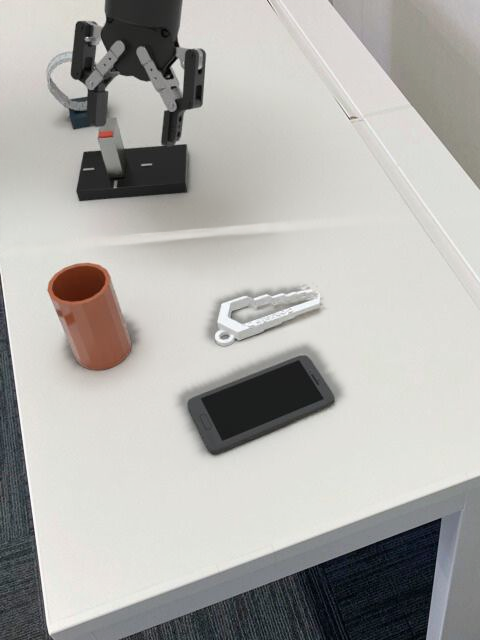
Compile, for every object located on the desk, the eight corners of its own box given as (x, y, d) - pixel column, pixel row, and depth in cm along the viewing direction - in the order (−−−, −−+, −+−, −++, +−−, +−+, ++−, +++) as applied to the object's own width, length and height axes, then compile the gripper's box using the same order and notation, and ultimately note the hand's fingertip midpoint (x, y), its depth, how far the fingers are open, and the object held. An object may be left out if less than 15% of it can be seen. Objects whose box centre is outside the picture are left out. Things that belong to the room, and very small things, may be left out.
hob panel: (82, 209, 101) (75, 190, 99) (89, 169, 107) (83, 150, 105) (189, 201, 103) (185, 181, 100) (190, 162, 109) (186, 142, 106)
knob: (111, 157, 104) (100, 116, 99) (126, 156, 104) (115, 115, 100) (108, 178, 101) (96, 137, 96) (124, 177, 101) (113, 135, 96)
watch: (119, 130, 114) (101, 60, 106) (63, 140, 112) (40, 69, 104) (115, 111, 118) (97, 41, 109) (61, 120, 116) (38, 50, 108)
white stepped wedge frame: (307, 283, 92) (307, 273, 90) (325, 310, 89) (325, 299, 87) (204, 319, 88) (202, 308, 87) (219, 348, 85) (217, 338, 84)
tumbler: (71, 372, 83) (43, 307, 75) (78, 331, 87) (51, 265, 79) (129, 367, 83) (107, 301, 76) (133, 326, 87) (112, 260, 80)
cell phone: (185, 404, 80) (184, 399, 79) (307, 356, 84) (306, 352, 83) (211, 456, 75) (210, 452, 75) (337, 403, 80) (337, 399, 79)
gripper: (226, -9, 80) (206, 147, 86) (103, -39, 82) (93, 115, 89) (195, -13, 73) (176, 157, 80) (61, -45, 75) (54, 122, 82)
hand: (132, 135), depth 84 cm, fingers open, 8 cm apart
